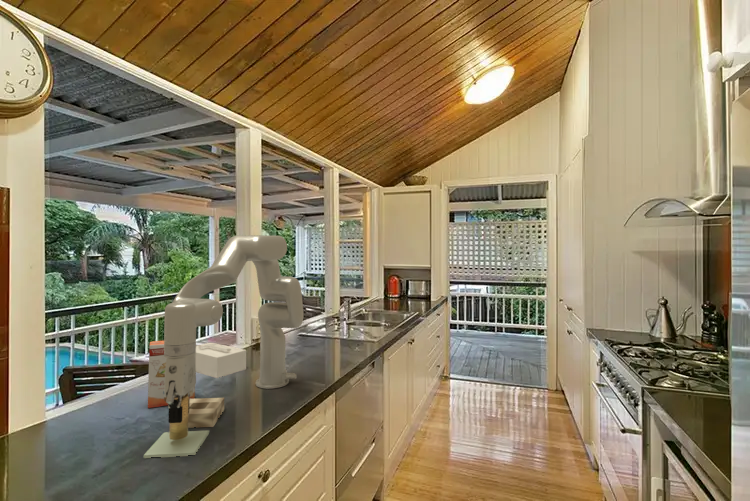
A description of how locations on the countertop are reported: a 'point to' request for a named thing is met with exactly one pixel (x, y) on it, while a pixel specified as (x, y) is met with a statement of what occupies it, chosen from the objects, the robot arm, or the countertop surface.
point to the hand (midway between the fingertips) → (179, 417)
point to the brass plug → (181, 429)
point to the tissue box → (219, 360)
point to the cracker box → (159, 376)
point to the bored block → (204, 412)
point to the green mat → (177, 445)
